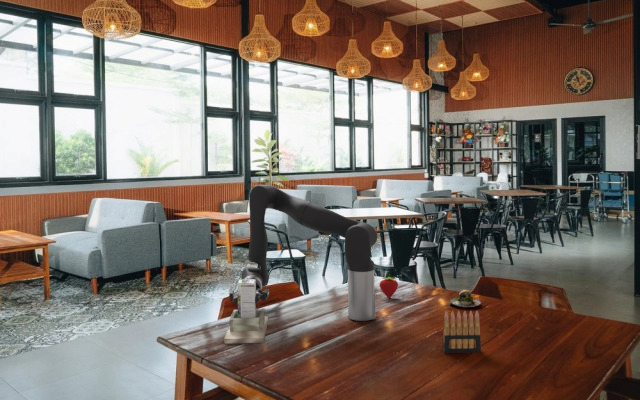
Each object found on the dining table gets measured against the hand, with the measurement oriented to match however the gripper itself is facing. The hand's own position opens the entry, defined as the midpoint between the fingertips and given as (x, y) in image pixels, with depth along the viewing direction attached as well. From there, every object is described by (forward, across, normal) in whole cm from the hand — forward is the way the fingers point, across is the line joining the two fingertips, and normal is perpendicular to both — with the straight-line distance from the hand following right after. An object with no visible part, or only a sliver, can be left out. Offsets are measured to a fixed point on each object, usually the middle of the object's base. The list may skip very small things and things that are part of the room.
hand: (246, 300), depth 170 cm
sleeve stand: (-1, 0, +11) cm, 11 cm away
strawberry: (-38, +53, +11) cm, 66 cm away
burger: (-25, +80, +11) cm, 85 cm away
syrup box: (-2, 0, +9) cm, 9 cm away
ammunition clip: (+22, +64, +10) cm, 68 cm away
